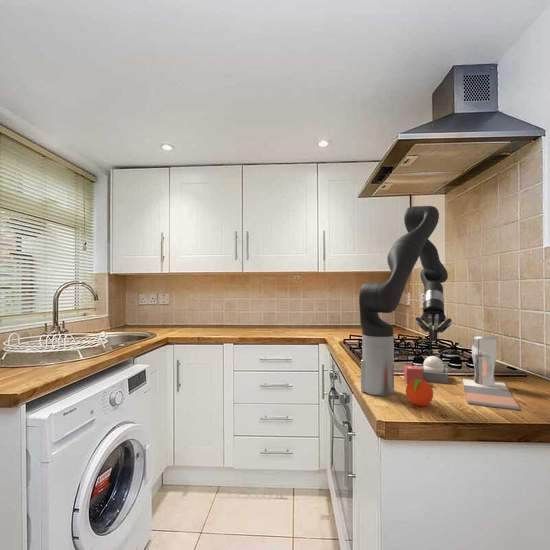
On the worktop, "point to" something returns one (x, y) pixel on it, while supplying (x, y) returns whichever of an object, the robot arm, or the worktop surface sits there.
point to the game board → (489, 395)
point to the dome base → (436, 376)
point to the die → (412, 373)
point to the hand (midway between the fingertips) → (433, 339)
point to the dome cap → (433, 364)
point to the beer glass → (484, 360)
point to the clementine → (419, 392)
